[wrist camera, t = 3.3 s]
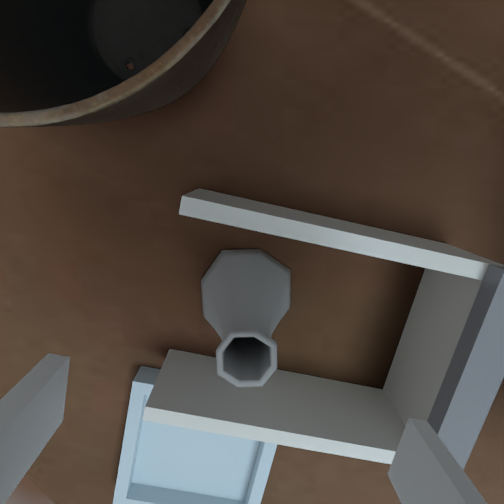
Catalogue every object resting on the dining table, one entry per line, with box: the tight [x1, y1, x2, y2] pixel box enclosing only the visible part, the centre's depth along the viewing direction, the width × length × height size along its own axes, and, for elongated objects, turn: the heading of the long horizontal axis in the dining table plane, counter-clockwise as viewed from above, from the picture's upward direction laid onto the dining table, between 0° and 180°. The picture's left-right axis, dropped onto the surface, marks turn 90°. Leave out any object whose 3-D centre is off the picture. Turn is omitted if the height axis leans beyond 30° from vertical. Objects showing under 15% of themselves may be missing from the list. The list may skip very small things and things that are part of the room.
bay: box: [143, 188, 504, 469], centre depth 23 cm, size 14×20×8 cm
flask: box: [201, 249, 291, 387], centre depth 22 cm, size 7×7×10 cm
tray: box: [113, 366, 277, 504], centre depth 29 cm, size 12×12×2 cm
